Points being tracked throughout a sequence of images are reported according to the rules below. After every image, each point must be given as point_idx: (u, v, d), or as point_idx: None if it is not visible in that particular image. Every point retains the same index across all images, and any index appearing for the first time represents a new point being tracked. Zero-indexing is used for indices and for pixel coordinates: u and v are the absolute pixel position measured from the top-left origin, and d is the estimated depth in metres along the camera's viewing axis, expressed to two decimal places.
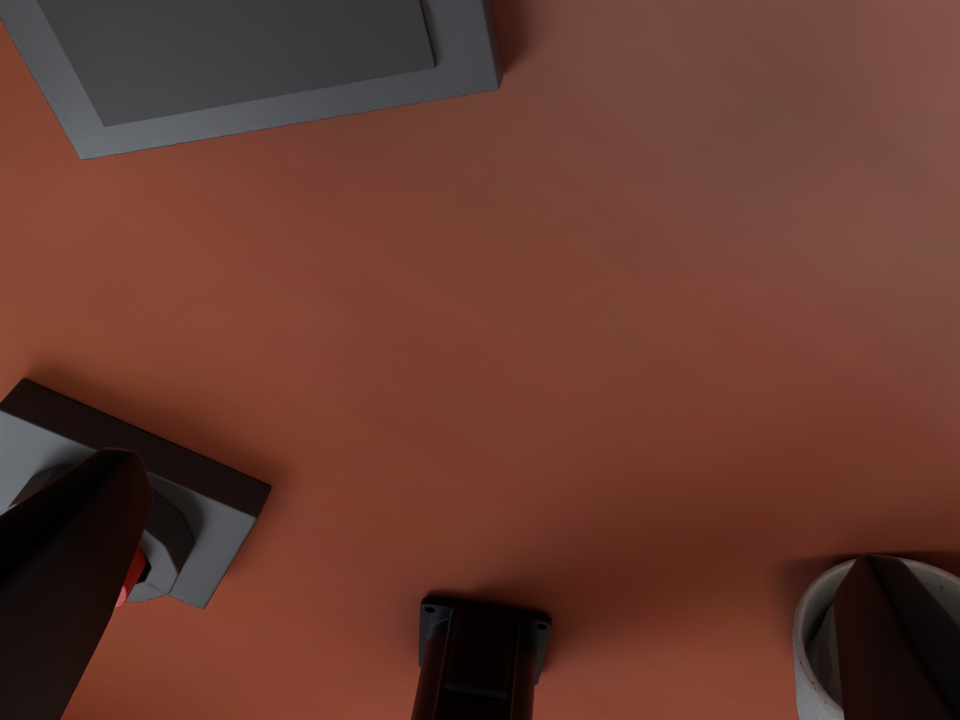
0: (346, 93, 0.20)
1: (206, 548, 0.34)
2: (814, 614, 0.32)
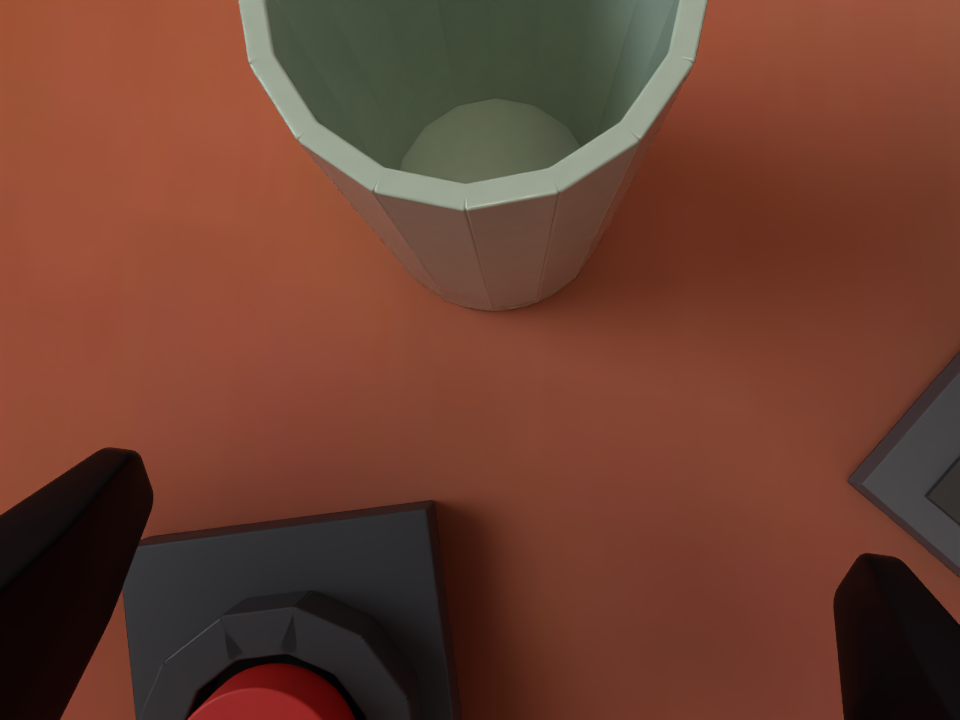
0: None
1: None
2: None
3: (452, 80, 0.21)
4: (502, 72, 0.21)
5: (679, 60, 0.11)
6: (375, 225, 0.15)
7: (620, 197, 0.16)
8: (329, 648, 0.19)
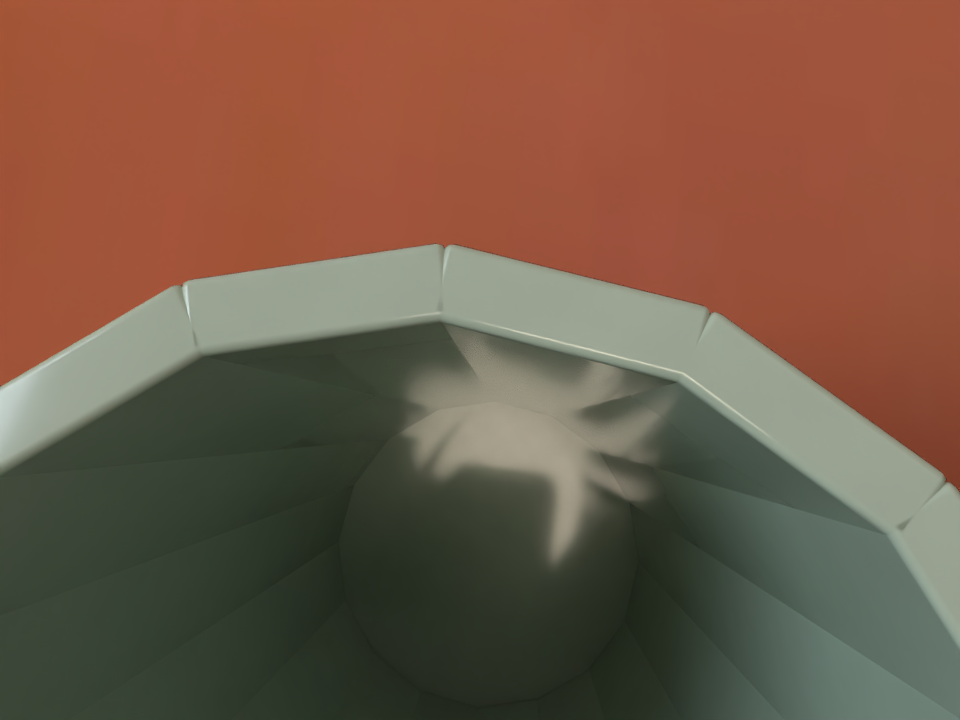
0: None
1: None
2: None
3: (428, 407, 0.14)
4: (505, 401, 0.14)
5: None
6: None
7: None
8: None
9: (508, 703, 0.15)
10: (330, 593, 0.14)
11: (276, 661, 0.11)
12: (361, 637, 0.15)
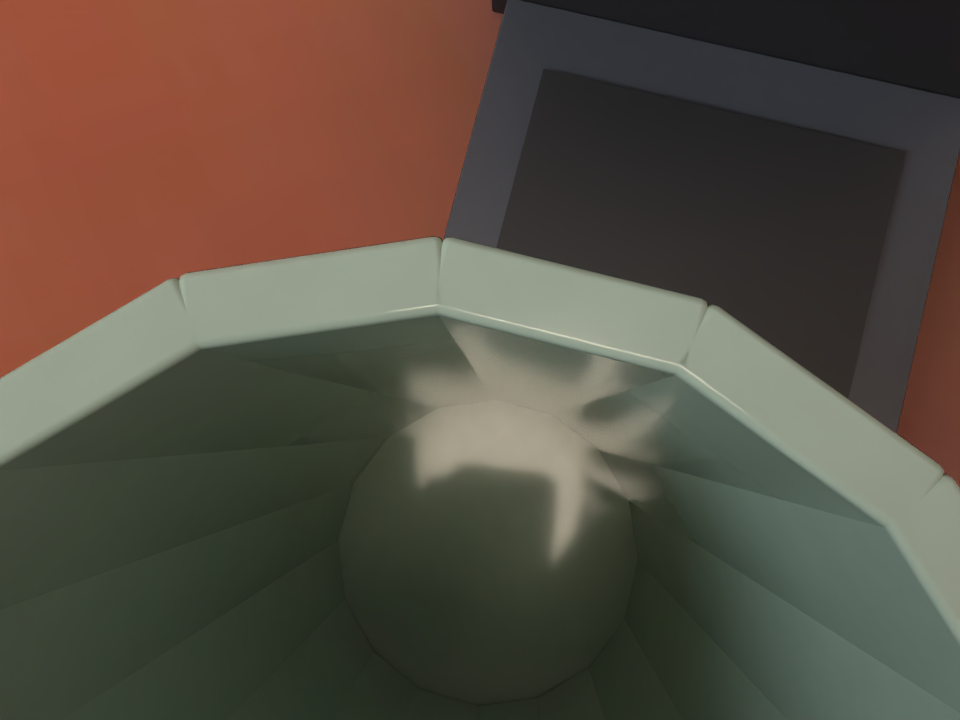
0: None
1: None
2: None
3: (427, 405, 0.14)
4: (504, 399, 0.14)
5: None
6: None
7: None
8: None
9: (508, 701, 0.15)
10: (329, 591, 0.14)
11: (275, 659, 0.11)
12: (360, 635, 0.15)
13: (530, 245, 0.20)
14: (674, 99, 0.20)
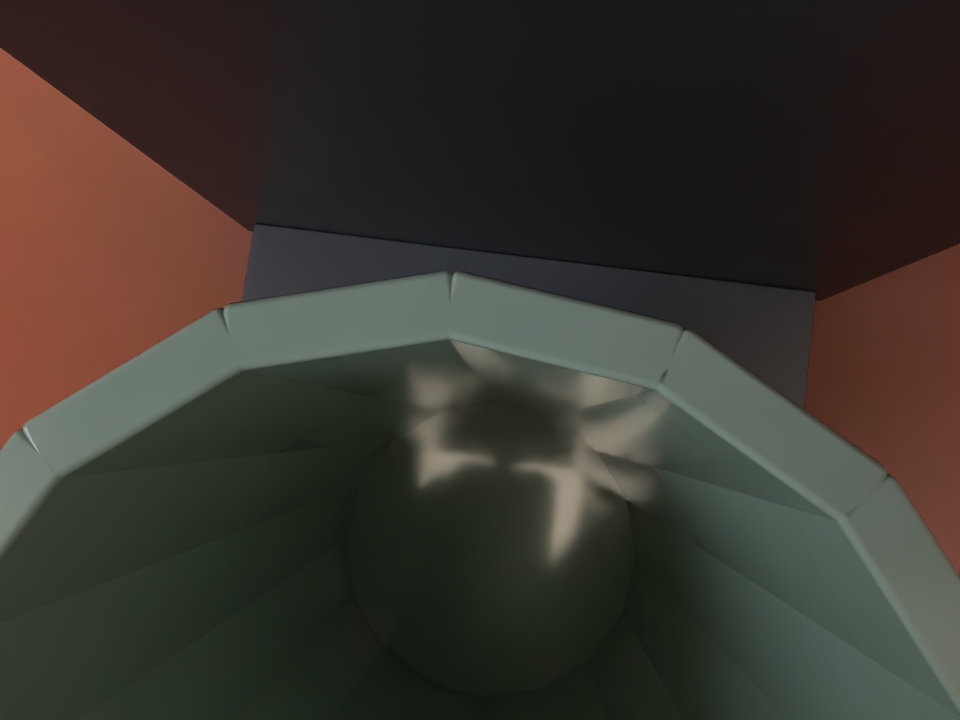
0: None
1: None
2: None
3: (431, 409, 0.14)
4: (506, 403, 0.14)
5: None
6: None
7: None
8: None
9: (511, 694, 0.15)
10: (338, 589, 0.15)
11: (290, 652, 0.11)
12: (368, 631, 0.15)
13: None
14: None
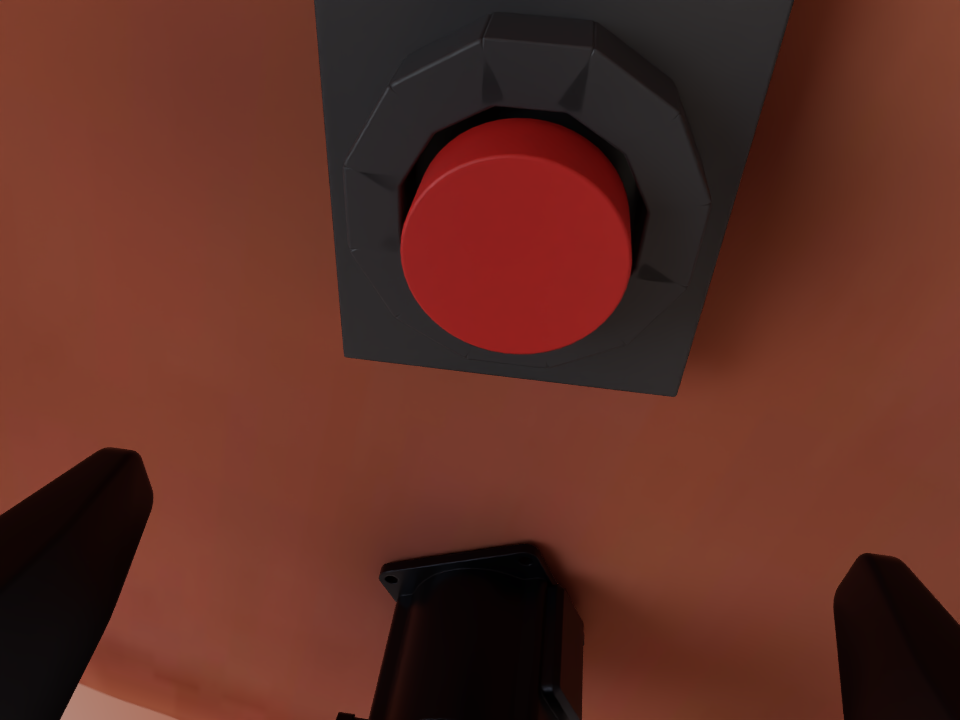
0: None
1: None
2: None
3: None
4: None
5: None
6: None
7: None
8: (629, 118, 0.13)
9: None
10: None
11: None
12: None
13: None
14: None
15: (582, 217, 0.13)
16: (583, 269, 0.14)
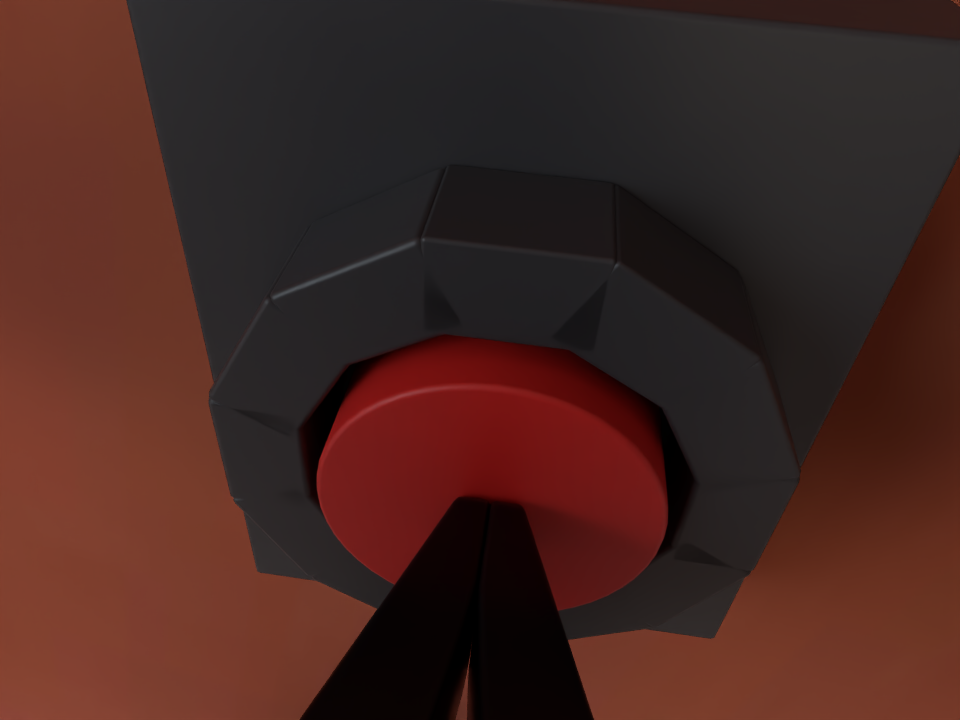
0: None
1: None
2: None
3: None
4: None
5: None
6: None
7: None
8: (673, 362, 0.08)
9: None
10: None
11: None
12: None
13: None
14: None
15: (593, 469, 0.09)
16: (593, 529, 0.09)
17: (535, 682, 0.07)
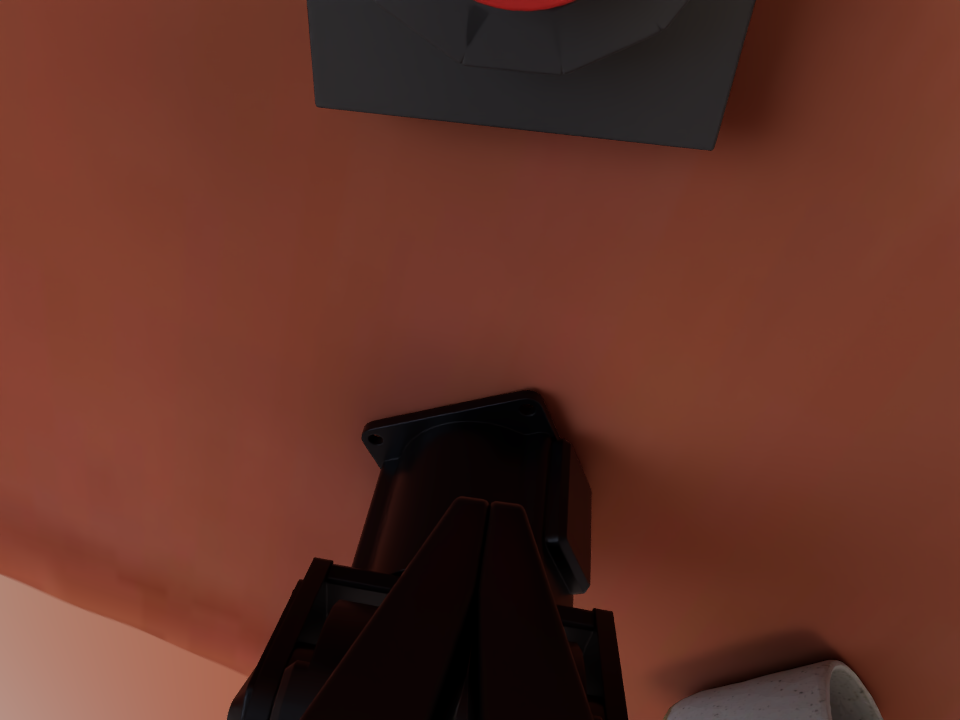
0: None
1: None
2: None
3: None
4: None
5: None
6: None
7: None
8: None
9: None
10: None
11: None
12: None
13: None
14: None
15: None
16: None
17: (535, 682, 0.07)
